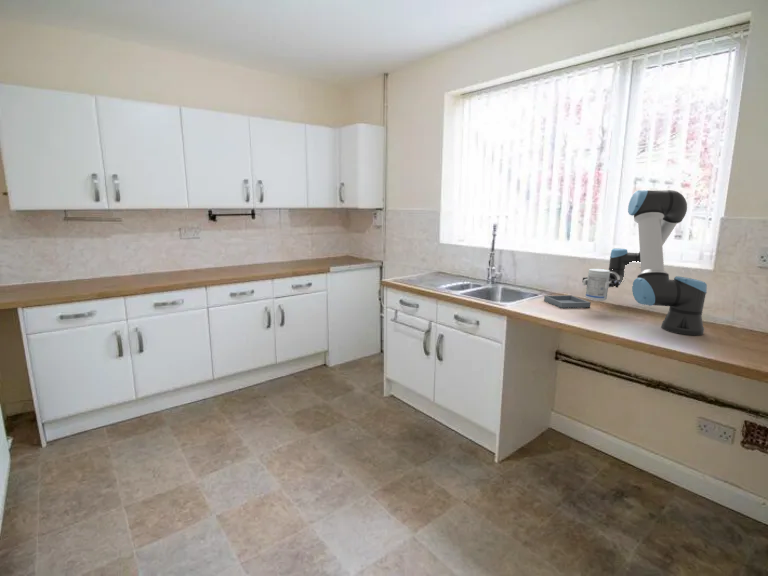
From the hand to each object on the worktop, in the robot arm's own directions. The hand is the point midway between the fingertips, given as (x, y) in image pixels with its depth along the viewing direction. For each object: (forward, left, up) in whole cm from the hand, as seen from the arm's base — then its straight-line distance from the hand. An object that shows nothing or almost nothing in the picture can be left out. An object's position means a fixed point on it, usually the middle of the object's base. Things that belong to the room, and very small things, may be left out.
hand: (594, 284), depth 200 cm
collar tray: (+21, -1, -15) cm, 26 cm away
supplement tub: (+2, -4, -8) cm, 9 cm away
